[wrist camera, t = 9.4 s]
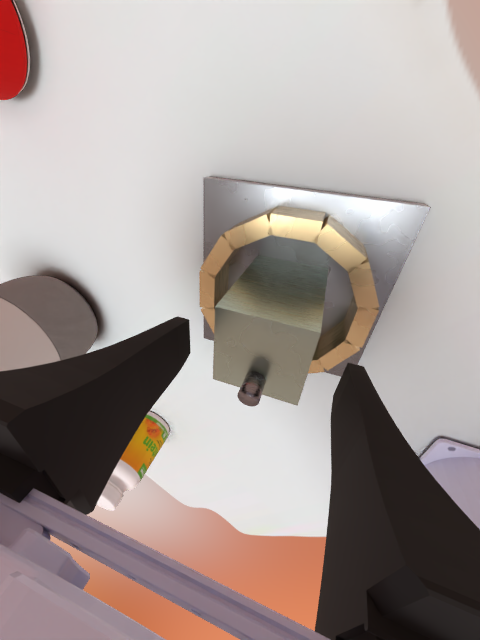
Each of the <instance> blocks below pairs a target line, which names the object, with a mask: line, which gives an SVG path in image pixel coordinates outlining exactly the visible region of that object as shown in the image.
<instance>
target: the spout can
mask: <svg viewBox="0 0 480 640" xmlns="http://www.w3.org/2000/svg"><path fill="white" fill-rule="evenodd" d="M327 275H328V268H323V267H318V266H313V265H308V264H302V263H297V262H292V261H287V260H282V259H276V258H271V257H266V256H261V255H258V256H257V257H256V258H255V259H254V261H253V262H252V263H251V264H250V265H249V267H248V268H247V269H246V270H245V271H244V273H243V274H242V275H241V276H240V277H239V278H238V280H237V281H236V282H235V283H234V284H233V286H232V287H231V288H230V289H229V290H228V292H227V293H226V294H225V295H224V296H223V298H222V299H221V300H220V301H219V302H218V304H217V305H216V306H215V326H214V361H213V379H215V380H218V381H221V382H225V383H228V384H231V385H234V386H237V387H240V390H239V392H238V398H239V400H240V401H241V402H242V403H243V404H245V405H248V406H256V405H258V403H259V401H260V398H261V395H266V396H269V397H272V398H275V399H278V400H281V401H285V402H288V403H291V404H294V405H298V402H299V399H300V396H301V393H302V390H303V386H304V383H305V380H306V377H307V374H308V371H309V368H310V365H311V362H312V359H313V356H314V353H315V349H316V346H317V343H318V340H319V337H320V334H321V327H322V319H323V310H324V301H325V293H326V284H327Z"/></svg>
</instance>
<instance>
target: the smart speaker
mask: <svg viewBox="0 0 480 640" xmlns="http://www.w3.org/2000/svg"><path fill="white" fill-rule="evenodd" d="M97 332H98V326H97V320H96V317H95V314H94V312H93V310H92V308H91V306H90V305H89V303H88V302H87V301H86V299H85V298H84V297H83V296H82V295H81V294H80V293H79V292H78V291H77V290H75V289H74V288H73V287H72V286H70V285H69V284H67V283H65V282H63V281H61V280H59V279H57V278H54V277H49V276H27V277H22V278H17V279H13V280H10V281H7V282H4V283H2V284H0V371H7V370H14V369H20V368H26V367H32V366H37V365H42V364H47V363H52V362H56V361H61V360H64V359H68V358H72V357H76V356H80V355H83V354H86V352H87V351H88V350H89V349H90V348H91V346H92V345H93V343H94V341H95V339H96V336H97Z"/></svg>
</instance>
